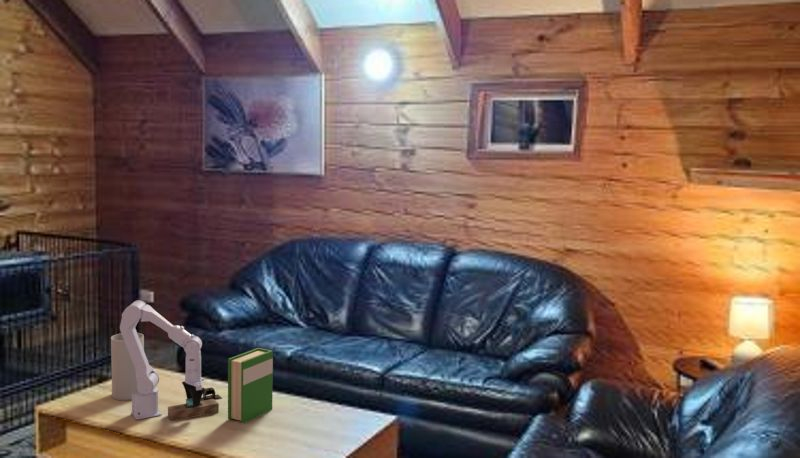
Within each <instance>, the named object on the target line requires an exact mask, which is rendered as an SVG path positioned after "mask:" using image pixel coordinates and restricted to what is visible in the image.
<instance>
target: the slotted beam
mask: <svg viewBox="0 0 800 458" xmlns="http://www.w3.org/2000/svg"><path fill="white" fill-rule="evenodd" d="M219 407H220V405H219V402H218V401H217V400H214V399H209V400H204V401H201V406H197V407H191V408H186V403H182V404H176V405H169V406H167V416H168V418H169V419H170V420H171V421H177V420H178V421H179V420H185V419H189V418H193V417H200V416H206V415H211V414H215V413H219Z"/></svg>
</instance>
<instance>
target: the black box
mask: <svg viewBox="0 0 800 458" xmlns="http://www.w3.org/2000/svg"><path fill="white" fill-rule="evenodd" d="M209 399H214V400H215V401H217V400H221V399H223V397H222V396H221V395H219V394H216V391H215V388H214V387H213V386H212V387H206V388H205V391H204V392H203V394H202V397H201V401H204V400H209Z"/></svg>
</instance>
